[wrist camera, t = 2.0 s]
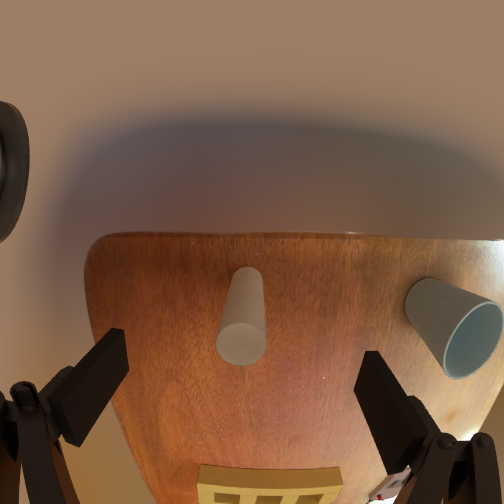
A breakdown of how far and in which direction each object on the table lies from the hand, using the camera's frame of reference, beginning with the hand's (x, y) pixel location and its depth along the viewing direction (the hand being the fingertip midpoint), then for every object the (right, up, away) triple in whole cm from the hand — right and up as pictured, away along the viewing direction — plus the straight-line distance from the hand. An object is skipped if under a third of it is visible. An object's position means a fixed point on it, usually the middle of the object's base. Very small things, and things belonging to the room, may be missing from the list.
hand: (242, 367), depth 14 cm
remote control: (+28, -39, +23) cm, 53 cm away
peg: (0, +3, +14) cm, 14 cm away
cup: (+20, +1, +14) cm, 24 cm away
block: (+3, -31, +21) cm, 38 cm away
